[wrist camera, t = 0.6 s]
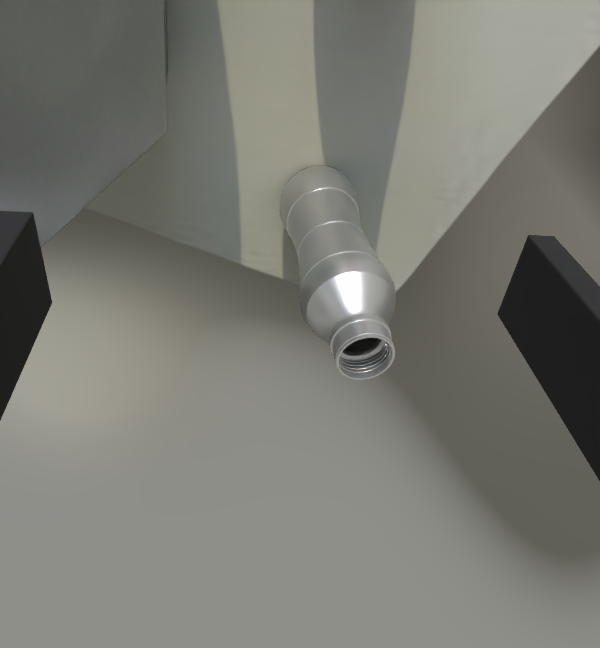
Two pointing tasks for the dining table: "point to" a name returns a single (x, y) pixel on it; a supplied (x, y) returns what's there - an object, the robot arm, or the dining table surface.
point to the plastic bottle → (339, 272)
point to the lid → (76, 100)
